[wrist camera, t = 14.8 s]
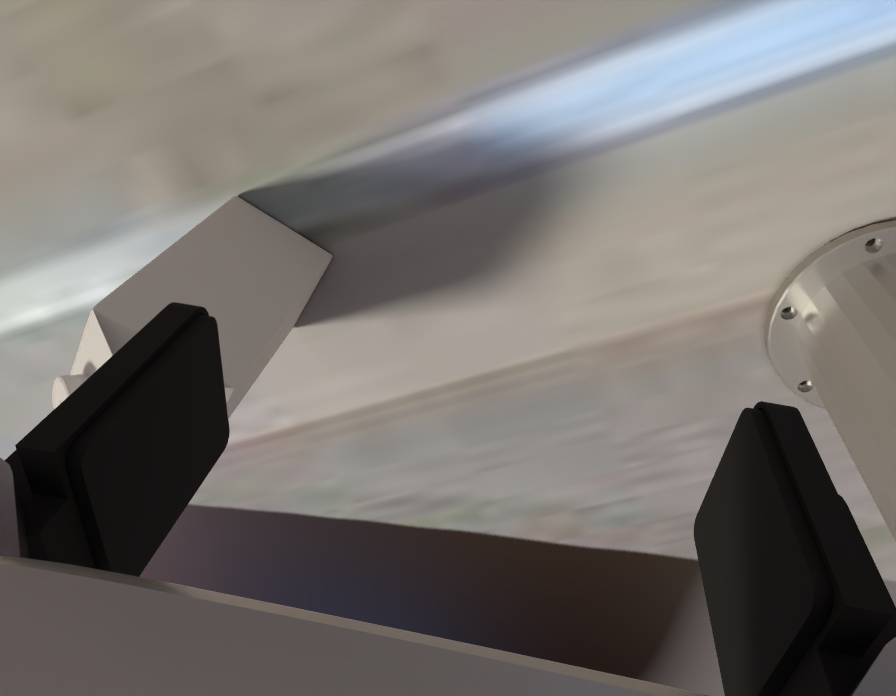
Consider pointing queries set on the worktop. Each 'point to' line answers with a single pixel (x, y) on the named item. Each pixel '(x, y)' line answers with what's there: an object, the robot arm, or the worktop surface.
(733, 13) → the worktop surface
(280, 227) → the milk carton
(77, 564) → the robot arm
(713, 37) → the worktop surface
